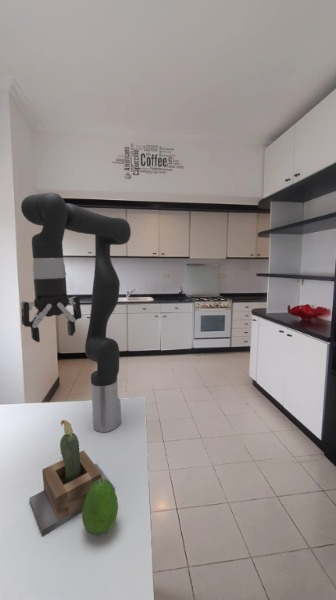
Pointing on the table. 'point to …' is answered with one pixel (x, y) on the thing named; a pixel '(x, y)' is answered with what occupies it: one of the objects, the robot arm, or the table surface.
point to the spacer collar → (63, 493)
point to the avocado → (100, 507)
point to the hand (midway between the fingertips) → (54, 338)
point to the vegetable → (70, 452)
